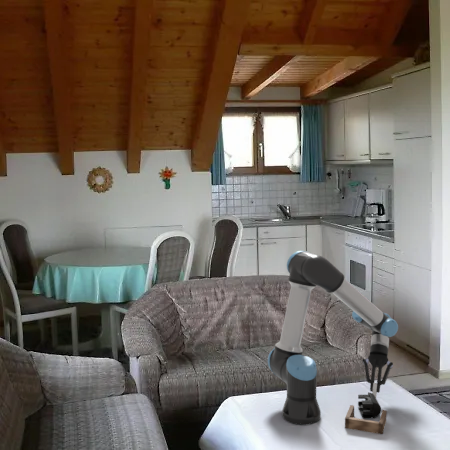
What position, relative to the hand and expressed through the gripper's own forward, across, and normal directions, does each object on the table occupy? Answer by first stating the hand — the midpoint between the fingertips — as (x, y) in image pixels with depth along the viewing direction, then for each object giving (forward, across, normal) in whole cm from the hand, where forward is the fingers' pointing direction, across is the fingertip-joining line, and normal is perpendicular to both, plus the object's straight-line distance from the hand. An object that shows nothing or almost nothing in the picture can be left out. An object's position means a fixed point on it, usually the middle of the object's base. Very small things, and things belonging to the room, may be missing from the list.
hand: (373, 399), depth 237 cm
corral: (+14, +1, +10) cm, 17 cm away
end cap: (+7, +1, +3) cm, 8 cm away
